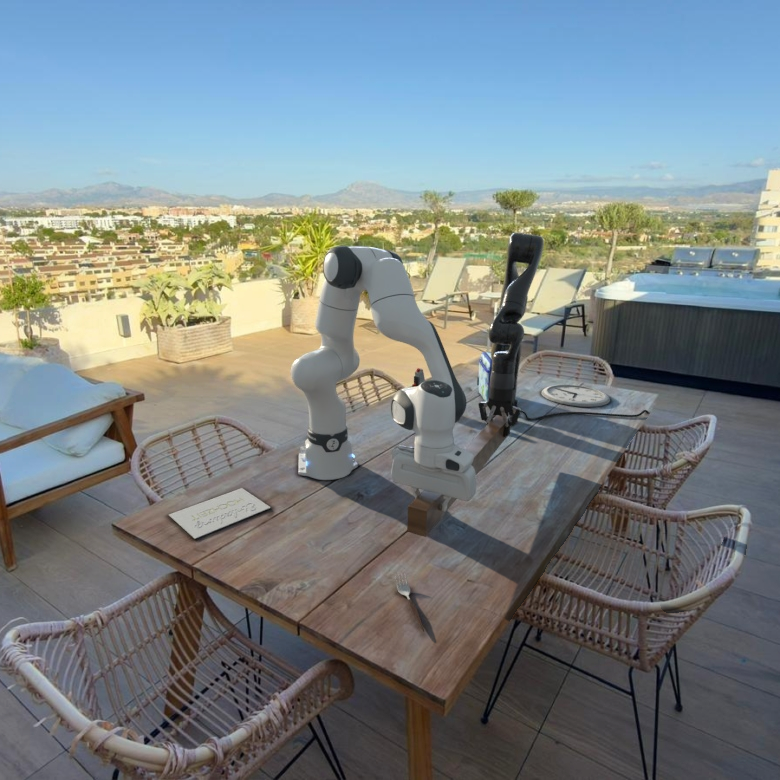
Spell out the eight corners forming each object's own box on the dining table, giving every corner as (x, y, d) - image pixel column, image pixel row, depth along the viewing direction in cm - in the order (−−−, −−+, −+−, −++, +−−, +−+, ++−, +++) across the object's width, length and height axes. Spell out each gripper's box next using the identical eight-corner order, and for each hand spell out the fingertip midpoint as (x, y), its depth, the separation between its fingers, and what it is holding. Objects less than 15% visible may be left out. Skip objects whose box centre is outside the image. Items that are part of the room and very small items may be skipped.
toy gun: (399, 376, 211) (420, 366, 222) (400, 413, 216) (420, 401, 228) (404, 377, 209) (424, 367, 220) (404, 414, 215) (424, 403, 226)
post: (496, 431, 179) (498, 413, 177) (509, 433, 177) (511, 415, 175) (406, 531, 118) (407, 506, 116) (425, 537, 116) (426, 511, 114)
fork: (417, 635, 98) (417, 626, 97) (393, 581, 112) (394, 573, 112) (430, 632, 98) (430, 623, 98) (405, 579, 113) (405, 571, 112)
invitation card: (241, 487, 151) (270, 507, 140) (241, 488, 151) (270, 508, 141) (168, 514, 136) (194, 538, 126) (168, 515, 136) (194, 539, 126)
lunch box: (475, 390, 246) (478, 346, 240) (498, 390, 246) (501, 347, 240) (484, 408, 221) (487, 360, 215) (509, 409, 221) (513, 360, 215)
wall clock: (623, 402, 226) (556, 403, 224) (623, 406, 227) (556, 407, 224) (592, 383, 255) (532, 383, 252) (591, 386, 255) (532, 386, 253)
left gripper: (386, 448, 120) (385, 501, 124) (471, 467, 111) (467, 524, 115) (399, 438, 126) (397, 490, 130) (480, 456, 116) (476, 511, 121)
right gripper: (476, 384, 165) (472, 434, 170) (521, 391, 159) (515, 443, 164) (483, 378, 172) (480, 427, 177) (527, 385, 165) (522, 435, 170)
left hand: (431, 506), depth 122 cm, fingers closed on post, 4 cm apart
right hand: (497, 434), depth 170 cm, fingers closed on post, 4 cm apart
